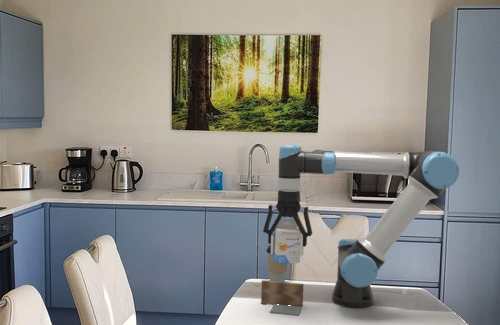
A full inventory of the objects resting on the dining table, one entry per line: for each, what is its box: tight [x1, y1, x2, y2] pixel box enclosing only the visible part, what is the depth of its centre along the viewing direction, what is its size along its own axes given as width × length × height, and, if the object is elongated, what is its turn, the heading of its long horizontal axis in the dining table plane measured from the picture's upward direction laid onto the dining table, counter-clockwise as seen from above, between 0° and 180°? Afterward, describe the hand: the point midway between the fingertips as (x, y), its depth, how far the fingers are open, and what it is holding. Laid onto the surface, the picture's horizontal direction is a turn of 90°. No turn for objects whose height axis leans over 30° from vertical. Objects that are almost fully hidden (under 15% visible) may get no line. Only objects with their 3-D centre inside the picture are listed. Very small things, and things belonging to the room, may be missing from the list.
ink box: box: [273, 218, 302, 264], centre depth 187 cm, size 8×5×15 cm, turn 100°
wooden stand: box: [260, 279, 305, 308], centre depth 195 cm, size 15×4×8 cm, turn 77°
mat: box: [269, 304, 303, 317], centre depth 188 cm, size 10×8×1 cm
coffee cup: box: [265, 244, 288, 282], centre depth 221 cm, size 9×9×15 cm
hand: (286, 254), depth 188 cm, fingers closed on ink box, 9 cm apart
